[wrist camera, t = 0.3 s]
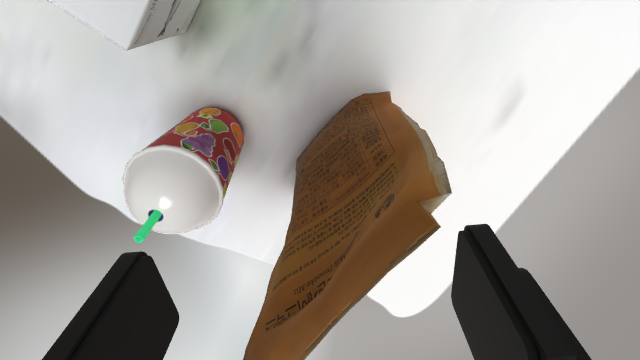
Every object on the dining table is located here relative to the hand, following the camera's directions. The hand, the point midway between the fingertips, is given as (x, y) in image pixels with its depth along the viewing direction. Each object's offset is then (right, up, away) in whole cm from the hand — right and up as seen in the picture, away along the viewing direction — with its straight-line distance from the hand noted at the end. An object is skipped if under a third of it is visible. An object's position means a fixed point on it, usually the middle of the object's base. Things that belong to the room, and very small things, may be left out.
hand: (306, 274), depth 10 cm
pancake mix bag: (+2, +8, +31) cm, 32 cm away
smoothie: (-12, +9, +31) cm, 34 cm away
